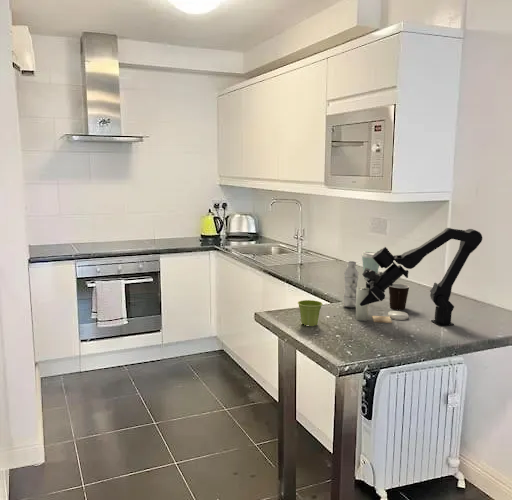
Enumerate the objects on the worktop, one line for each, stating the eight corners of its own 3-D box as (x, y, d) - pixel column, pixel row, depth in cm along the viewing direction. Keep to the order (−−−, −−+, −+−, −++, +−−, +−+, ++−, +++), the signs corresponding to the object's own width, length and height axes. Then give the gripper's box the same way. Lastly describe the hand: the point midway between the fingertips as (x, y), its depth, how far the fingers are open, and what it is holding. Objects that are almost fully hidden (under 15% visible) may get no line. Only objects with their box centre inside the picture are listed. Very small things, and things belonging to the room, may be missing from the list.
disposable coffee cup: (379, 277, 291) (381, 251, 288) (380, 281, 280) (382, 254, 278) (360, 276, 292) (361, 250, 290) (360, 280, 282) (362, 253, 280)
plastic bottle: (340, 308, 225) (343, 262, 221) (343, 304, 231) (345, 260, 228) (355, 309, 222) (358, 264, 219) (358, 305, 229) (360, 261, 226)
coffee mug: (392, 304, 232) (393, 282, 231) (410, 308, 227) (412, 285, 225) (380, 309, 223) (382, 287, 222) (399, 313, 218) (401, 290, 216)
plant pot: (296, 320, 204) (297, 299, 203) (320, 321, 204) (321, 300, 203) (297, 328, 195) (298, 305, 194) (322, 328, 195) (323, 306, 194)
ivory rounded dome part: (411, 319, 209) (411, 315, 209) (393, 320, 208) (393, 316, 207) (401, 314, 217) (402, 310, 217) (384, 314, 215) (384, 311, 215)
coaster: (389, 318, 211) (389, 316, 211) (391, 323, 204) (391, 321, 204) (372, 317, 212) (372, 315, 212) (373, 322, 205) (373, 320, 205)
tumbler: (370, 320, 207) (371, 290, 205) (358, 321, 206) (359, 290, 204) (364, 316, 212) (366, 287, 210) (353, 317, 211) (354, 287, 209)
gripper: (373, 257, 214) (344, 282, 217) (378, 266, 195) (347, 293, 198) (391, 277, 214) (362, 301, 217) (398, 287, 196) (366, 314, 199)
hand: (359, 302), depth 208 cm, fingers open, 9 cm apart
